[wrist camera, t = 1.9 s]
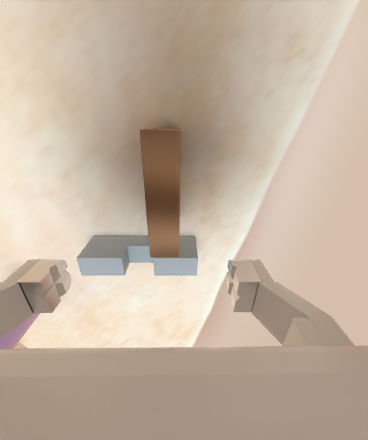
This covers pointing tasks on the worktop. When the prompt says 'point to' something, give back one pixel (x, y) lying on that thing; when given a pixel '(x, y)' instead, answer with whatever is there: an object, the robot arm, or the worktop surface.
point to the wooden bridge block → (162, 189)
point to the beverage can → (17, 333)
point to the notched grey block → (135, 256)
